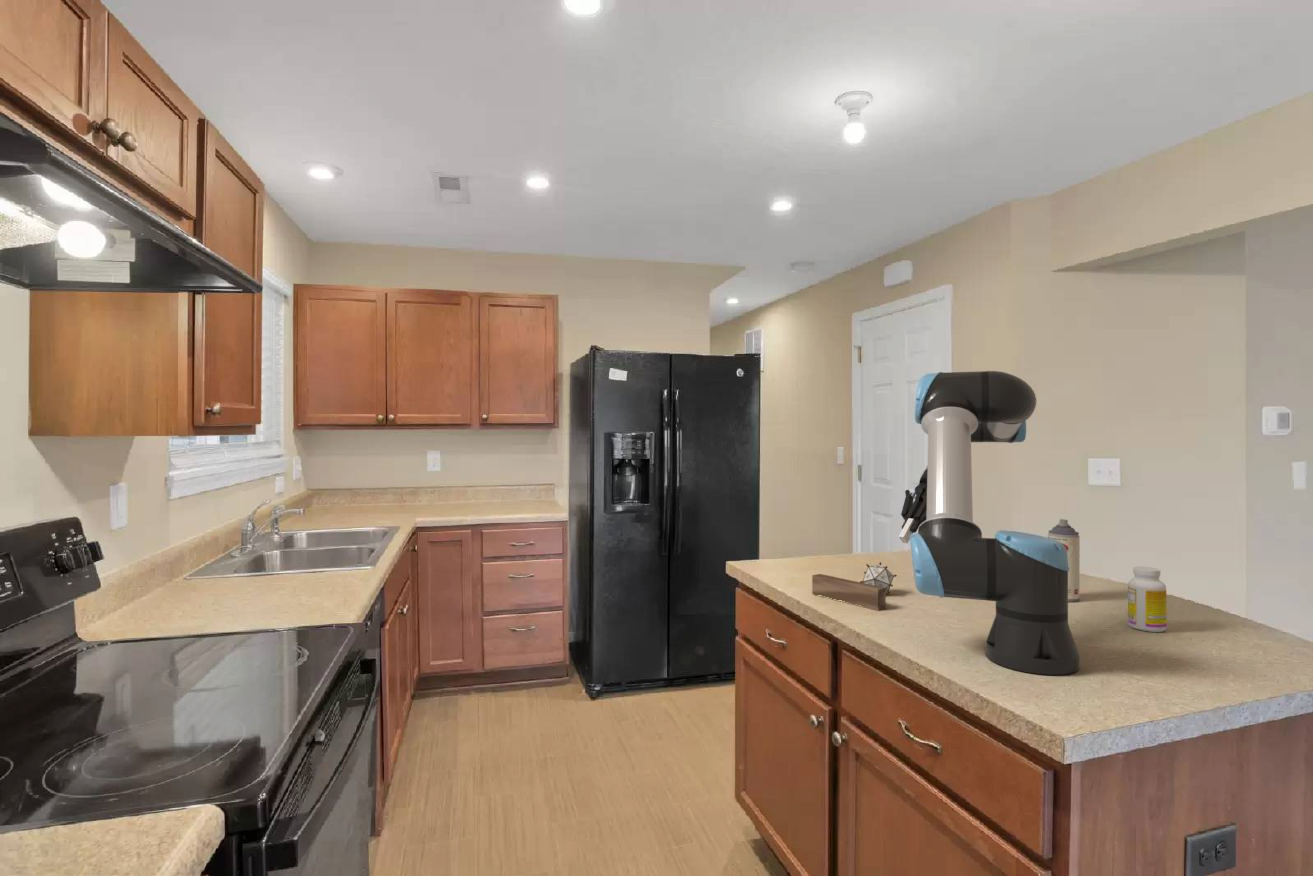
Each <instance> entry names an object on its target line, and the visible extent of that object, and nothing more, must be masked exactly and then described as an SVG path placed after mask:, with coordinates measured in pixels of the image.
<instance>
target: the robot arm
mask: <svg viewBox="0 0 1313 876" xmlns="http://www.w3.org/2000/svg"><path fill="white" fill-rule="evenodd" d="M916 388H917V389H916V394H915V401H914V402H915V405H914V420H915V423H916V424H919V425H921V429H922V430H923V432H924V433H925V434H927V435H928V437H927V438H928V439H927V465H926V467H925V470H924V471H923V473H922V474H921V476H920V479H919V483H918V485H917V486H916V487H914V489H913V490H910V489H906V490H905V492H904V493H905V497H904V502H903V506H902V510H901V513H900V515H901V517H902V518H903V520H904V522H903V524H902V526H901V531H900V532H899V535H898V538H899V539H900V541H901V542H902V544H909V542H910V550H911V551H910V552H911V560H912V561H911V562H912V568H913V574H914V575H913V576H914V582H915V583H914V584H915V588H916V590H917V591H918V592H919V593H921V594H922V595H925V596H926V595H927V596H935V597H938V598H942V599H943V598H950V599H951V598H952V599H955V598H956V599H962V600H963V599H966V600H977V601H989V602H995V616H994V619H993V622H992V624H991V627H990V630H989V632H988V635H987V637H986V641H985V645H984V646H985V647H984V648H985V649H984V650H985V652H984V654H985V656H986V658H987V659H988V660H990V661H991V662H993V663H995V664H996V665H999V666H1001V667H1002V666H1003V667H1005V668H1007V669H1012V670H1014V671H1019V672H1023V673H1024V672H1025V673H1030V674H1035V675H1036V674H1038V675H1048V676H1050V675H1051V676H1052V675H1053V676H1055V675H1056V676H1061V675H1069V674H1073V673H1077V672H1078V671H1079V670H1080V653H1079V650H1078V648H1077V645H1076V643H1075V642H1076V641H1075V639H1074V636H1073V634H1072V631H1071V629H1070V628H1071V627H1070V625H1069V602H1068V571H1069V567H1068V556H1067V549H1066V547H1065V546H1064V545H1063V544H1062V543H1060V542H1059V541H1056V540H1054V539H1050V538H1048V536H1047V537H1046V536H1042V535H1038V534H1033V533H1029V532H1028V533H1027V532H1024V531H1023V532H1021V531H1015V530H1014V531H1013V530H998V531H996V533H995V534H994V537H993V538H991V537H989V538H988V537H983V532H982V529H981V527H980V526H979V525H978V524H976V523H975V522H974V521H973V520H974V519H973V514H974V513H973V509H974V508H973V478H972V477H973V474H972V469H973V468H972V467H973V466H972V443H1008V444H1012V443H1022V442H1024V441H1025V440H1026V435H1027V420H1029V419H1030V417H1031V416H1032V415H1033V413H1034V411H1035V409H1036V407H1037V397H1036V392H1035V391H1034V390H1033V388H1032V387H1031V385H1029V384H1028V383H1027V382H1026V381H1025V380H1023V379H1021V378H1020V377H1018V376H1016V375H1014V374H1011V373H1008V372H1005V371H998V370H987V371H986V370H985V371H982V370H981V371H955V372H953V371H952V372H951V371H950V372H942V371H939V372H934V373H932V372H931V373H926V374H924V375H923V376H921V377H920V378H919V380H918V384H917V387H916Z"/></svg>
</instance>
